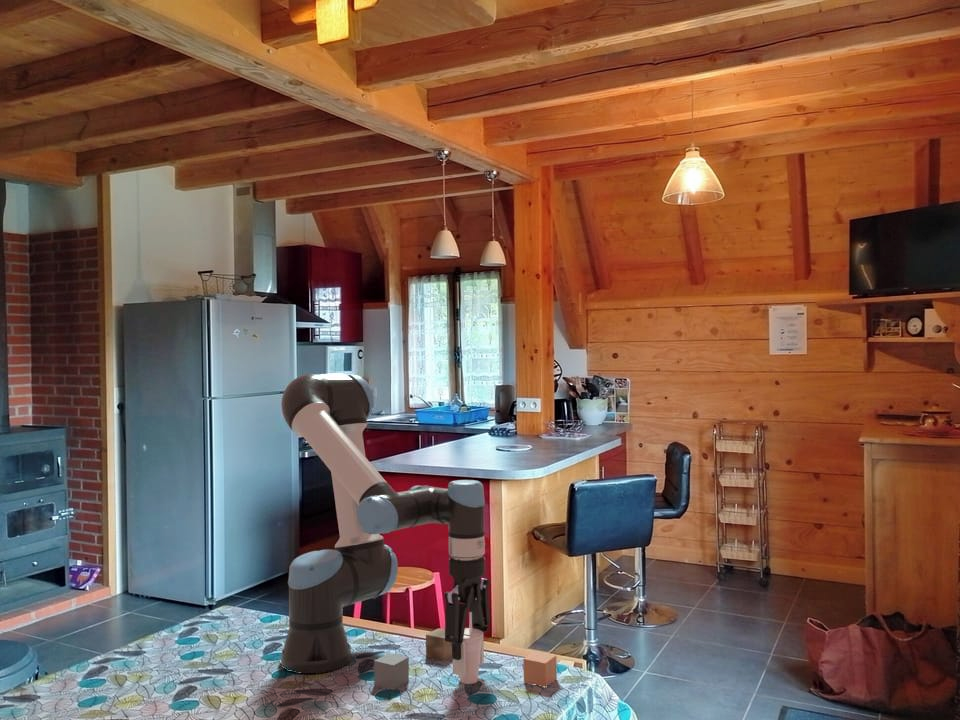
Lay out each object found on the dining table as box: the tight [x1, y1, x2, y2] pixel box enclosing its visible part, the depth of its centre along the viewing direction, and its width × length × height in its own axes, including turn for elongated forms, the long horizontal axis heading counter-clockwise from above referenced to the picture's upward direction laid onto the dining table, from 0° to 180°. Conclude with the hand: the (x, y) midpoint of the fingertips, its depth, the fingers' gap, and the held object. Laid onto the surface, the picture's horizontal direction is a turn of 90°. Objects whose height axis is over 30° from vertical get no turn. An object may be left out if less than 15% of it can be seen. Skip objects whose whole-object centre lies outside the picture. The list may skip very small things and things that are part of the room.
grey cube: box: [373, 652, 410, 691], centre depth 154 cm, size 5×5×5 cm
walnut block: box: [425, 627, 452, 661], centre depth 169 cm, size 5×5×5 cm
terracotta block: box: [523, 650, 558, 687], centre depth 154 cm, size 5×5×5 cm
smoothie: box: [458, 611, 483, 685], centre depth 155 cm, size 6×6×14 cm
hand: (468, 668), depth 154 cm, fingers closed on smoothie, 6 cm apart
